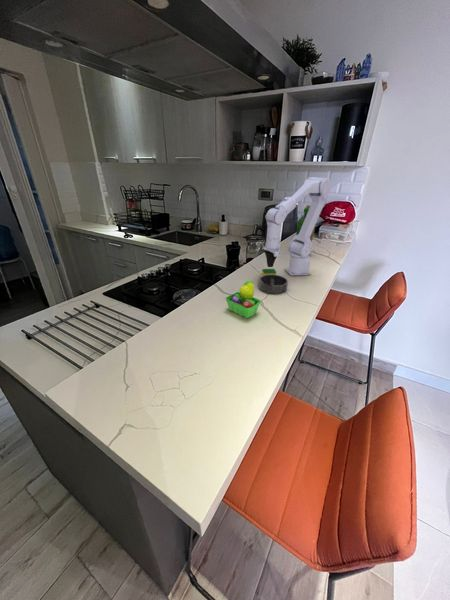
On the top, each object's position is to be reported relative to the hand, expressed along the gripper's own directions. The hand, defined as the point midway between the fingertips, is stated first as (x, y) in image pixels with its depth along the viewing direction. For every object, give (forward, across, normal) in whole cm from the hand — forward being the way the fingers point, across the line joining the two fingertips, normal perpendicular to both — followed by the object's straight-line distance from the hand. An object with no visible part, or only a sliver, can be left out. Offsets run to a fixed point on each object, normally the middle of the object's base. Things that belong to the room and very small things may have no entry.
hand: (269, 266), depth 119 cm
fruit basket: (+7, +27, -18) cm, 33 cm away
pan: (+6, +9, -1) cm, 11 cm away
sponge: (+6, 0, 0) cm, 6 cm away
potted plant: (+6, -35, +31) cm, 47 cm away
